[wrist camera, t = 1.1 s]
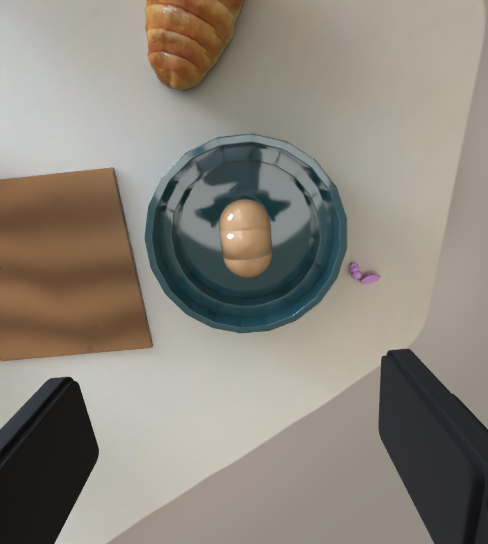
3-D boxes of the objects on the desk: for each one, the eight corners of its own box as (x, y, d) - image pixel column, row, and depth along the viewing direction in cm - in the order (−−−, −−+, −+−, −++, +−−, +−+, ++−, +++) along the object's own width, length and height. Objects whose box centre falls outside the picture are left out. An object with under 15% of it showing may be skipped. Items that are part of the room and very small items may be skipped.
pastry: (212, 108, 26) (206, 97, 22) (133, 73, 25) (114, 57, 21) (255, -24, 23) (257, -60, 19) (169, -67, 22) (153, -113, 19)
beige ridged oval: (217, 199, 28) (212, 204, 24) (266, 194, 28) (270, 198, 23) (226, 271, 30) (223, 287, 26) (272, 266, 30) (276, 282, 26)
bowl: (143, 150, 27) (125, 147, 23) (331, 130, 26) (347, 122, 22) (175, 318, 32) (165, 340, 28) (333, 304, 31) (346, 324, 27)
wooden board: (-84, 189, 28) (-88, 189, 27) (113, 167, 27) (111, 167, 27) (-12, 360, 33) (-15, 362, 33) (152, 345, 33) (151, 347, 33)
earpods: (365, 270, 32) (378, 261, 30) (370, 284, 31) (384, 275, 30) (342, 267, 30) (355, 258, 29) (347, 282, 30) (361, 273, 28)
